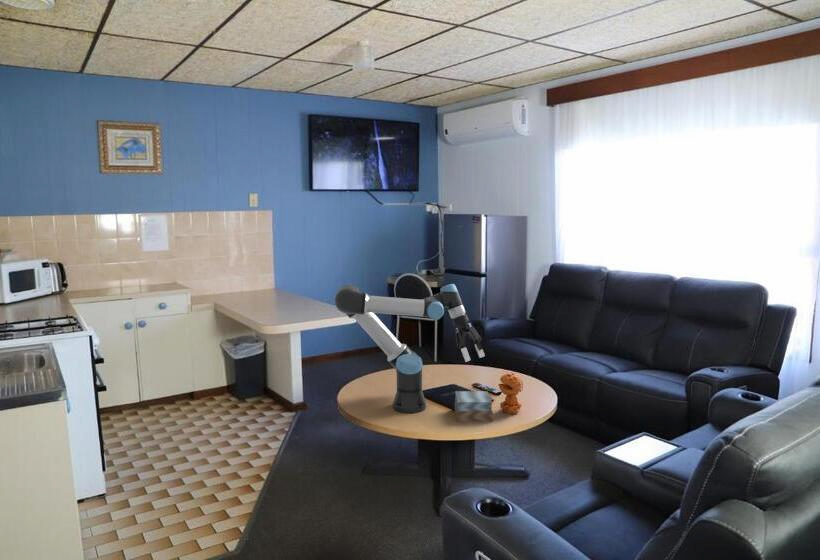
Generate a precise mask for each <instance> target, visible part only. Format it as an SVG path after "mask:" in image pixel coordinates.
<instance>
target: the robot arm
mask: <svg viewBox="0 0 820 560" xmlns="http://www.w3.org/2000/svg"><path fill="white" fill-rule="evenodd" d="M439 290H440V292H439V293H436V294H433V295H430V296H427V297H424V298H423V299H418V298H417V299H416V298H406V297H405V298H403V297H392V296H391V297H390V296H381V295H380V296H379V295H370V294H368V293H367V292H362V291H360V289H359V287H358V286H356V285H353V284H351V283H348V284H347V283H346V284H344V285H341V286H340V287H339V288H338V289H337V290H336V292H335V296H334V305H335V307H336V309H337V310H338V311H339V312H341V313H343V314H345V315H346V316H347V317H348V318H349V319H354V320H355V321H356V322H357V323H358V324H359V325H360V326H361V328H362V329H363V330H364V331H365V332H366V333H367V335H368V336H369V337H370V338H371V339H372V340H373V341H374V343H376V345H377V346H378V347H379V348H380V349H381V351H383V353H384V354H385V355H386V356H387V359H386V360H387V362H388V363H389V364H390V366H392V368H393V369H394V370H395V374H396V391H395V395H394V397H393V401H392V409H394V411H396V412H399V413H406V414H414V413H420V412H423V411H425V410H426V408H427V402H426V398H425V396H424V392H423V360H422V358H421V357H420V356H419V355H418V354H417V353H416V352H415V351H413V350H411V348H410V347H409V346H408V345H407V344H406V343H401V342H400V340H399V339H398V338H397V337H396V336H395V335H394V334H393V333H392V331H390V329H389V328H388V327H387V326H386V325H385V324H384V323H383V322H382V321H381V319H380V318H379V316H377V315H376V314H384V315H397V316H409V317H410V316H411V317H424V318H429V319H430V318H431V319H433V320H439V319H441V318H442V317H443V316H444V314H445V308H447V311H448V313H449V317H450V319H451V323H452V324H453V327H456V328H454V329H453V330H454V333H455V334H454V335H455V342H456V343H455V344H456V348H457V349H459V350H460V351H461V354H462V357H463V360H464V361H465V363H467V362H470V361H471V356H470V355H469V352H468V349H467V346H466V336H467V337H468V338H469V339H470V340H471V341H472V342H473V345H474V347H475V350H476V353H477V355H478V358H479V359H480V358H484V357H485V356H486V355H485V352H484V349H483V347H482V344H481V342H482V340H483V338H482V337H481V335H480V334H479V332H478V331H477V330H476V328H475V327H474V325H473V323H472V322H469V321H470V319H469V317H468V314H466V313H467V312H466V310H465V306H464V304H463V301H462V298H461V296H460V292H459V291H458V289H457V286H456V284H455V283H450V284H447V285H444V286H442V287H440V289H439Z"/></svg>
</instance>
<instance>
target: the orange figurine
mask: <svg viewBox="0 0 820 560" xmlns="http://www.w3.org/2000/svg"><path fill="white" fill-rule="evenodd" d="M499 380H500V383H498V388H499V390H500V392H501V393H502V394H504V395H506V396H505V398H504V401H501V402H500V404H499V407H500V410H501V411H503V412H504V413H506V414H510V415H511V414H512V415H513V414H517V413H516V412H518V410H519V411H521V407H522V402H519V401H518V397H517V395H518V394H519V393H521V392H522V390H523V388H524V384H523V381H522V379H521V378H520V376H519V375H516V374H515V373H513V372H511V373H509V372H506V374H503V375H501V377H500V378H499Z"/></svg>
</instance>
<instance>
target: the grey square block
mask: <svg viewBox="0 0 820 560" xmlns="http://www.w3.org/2000/svg"><path fill="white" fill-rule="evenodd" d="M492 403H493V402H492V399H491V397H490V394H489V392H488V391H484V390H483V391H478V390H477V391H474V390H473V391H471V390H469V391H468V390H467V391H466V390H465V391H464V390H463V391H457V390H455V399H454V413H455V417H456V418H455V419H456V422H457V423H459V422H463V423H465V422H466V423H467V422H468V423H469V422H471V423H472V422H473V423H474V422H475V423H476V422H477V423H479V422H480V423H484V422H485V423H486V422H487V423H490V422H491V423H492V422H493V408H492V407H493V404H492Z"/></svg>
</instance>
